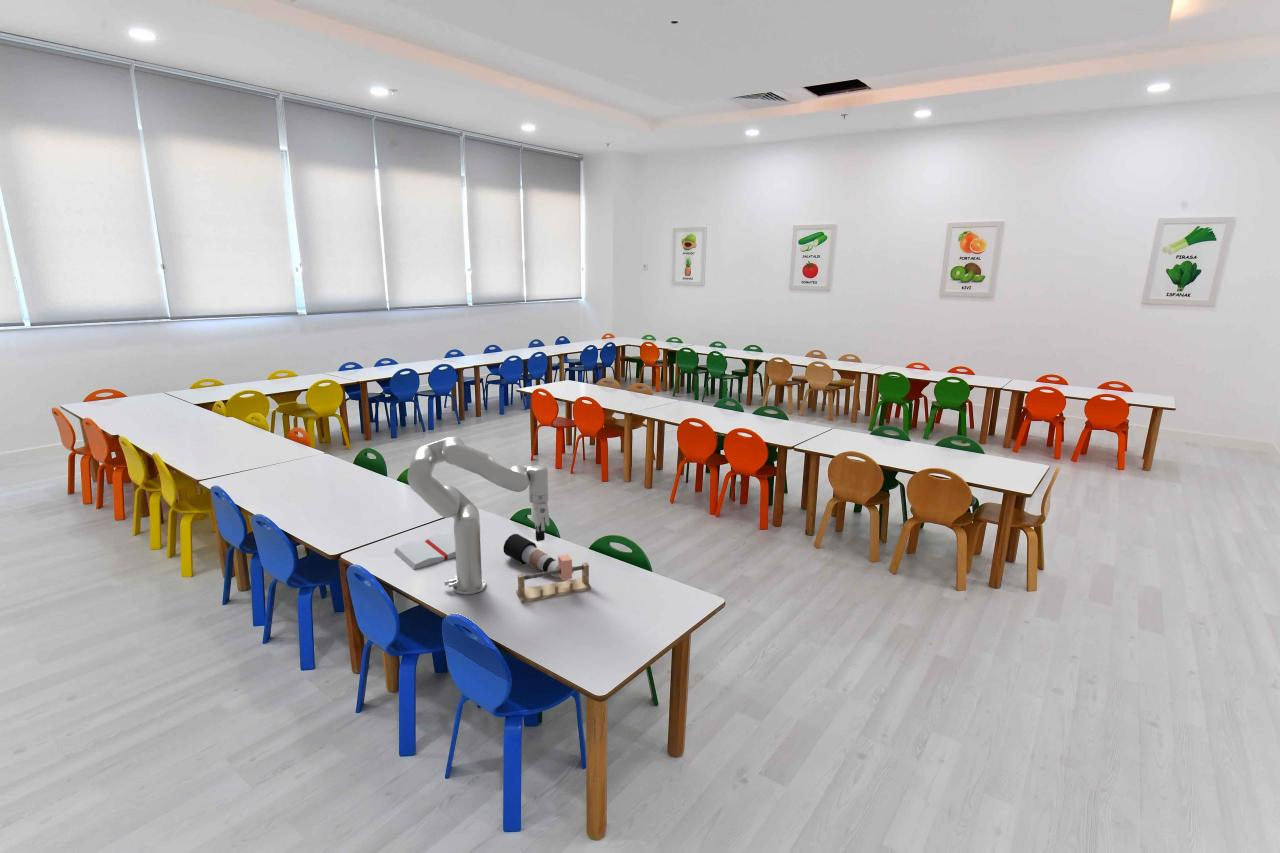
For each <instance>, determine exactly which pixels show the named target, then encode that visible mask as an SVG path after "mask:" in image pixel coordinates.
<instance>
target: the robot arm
mask: <svg viewBox="0 0 1280 853" xmlns="http://www.w3.org/2000/svg"><path fill="white" fill-rule="evenodd" d="M443 462H444V463H447V464H449V465H450V466H451V465H452V466H454V467H457V468H459V469H463V470H464V471H468V472H471V473H473V474H476V475H478V476H480V477H482V478H483V479H485V480H487V481H488V482H490V483H493V484H495V486H498V487H500V488H503V489H506V490H509V491H511V492H517V493H520V492H524V491H526V489H528V501H529V503H530V511H531V512H530V513H531V514H530V515H531V520H532V522H533V523H534V529H535V540H536V542H540V541H541V542H543V541H545V532H546V529H545V528H546V527H545V525H546V526H547V527H549V526H550V514H549V505H548V502H549V500H550V499H549V476H548V475H549V474H548V473H549V472H548V470H549V469H548V468H547V467H546V466H544V465H542V464H541V465H540V464H539V465H538V464H536V465H532V466H530V465H519V464H518V465H516V464H515V465H513V466H511V467H510V468H508V467H505V466H504V465H502V464H500V463H499V462H497V460H495V459H494V458H493V457H492V456H491V455H490V454H488V453H487V452H484V451H481V450H478V449H476V448H473V447H470V446H469V445H468V446H467V445H465V442H464V441H463V439H461V438H460V437H457V436H450V437H445V438H442V439H440V440H437V441H434V442H431V443H428V444H425V445H422V446H420V447H418V448H417V449H416V450H415V451H414V452H413V454H412V458H411V461H410V463H409V466H408V469H407V479H406V480H407V482H408V485H409V487H410V488H411V489H412V491H413V492H415V494H416V495H418V497H420V498H421V499H422V500H423V501H424V502H425V503H426V504H427V505H429V506H430V507H431V509H433V510H434V511H435V512H436V513H437V515H439V516H440V517H442V518H447V519H448V518H452V519H453V534H454V538H455V553H456V557H455V569H456V571H455V575H454V578H451V579H446V580H443V582H444V586H448V588H453V592H455V593H456V594H459V595H474V594H477V593H480V592H482V591H483V590H484V589H486V586H487V581H486V580H485V579H483V578H482V577H483V576H482V554H481V553H482V550H481V523H480V522H481V521H480V520H481V519H480V512H479V509H478V507H477V506H476V505H475V504H474V503H473V501H471V500H470V499H469V498H468V497H467V496H465V494H464V493H462V491H460V490H459V489H458V488H456V486H453V485H447V484H446V485H442V483H441V482H440V481H439V480H437V479H436V478H435V477H433V475H432V474H433V472H434V469H435V466H436V465H438V464H440V463H443Z"/></svg>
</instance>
